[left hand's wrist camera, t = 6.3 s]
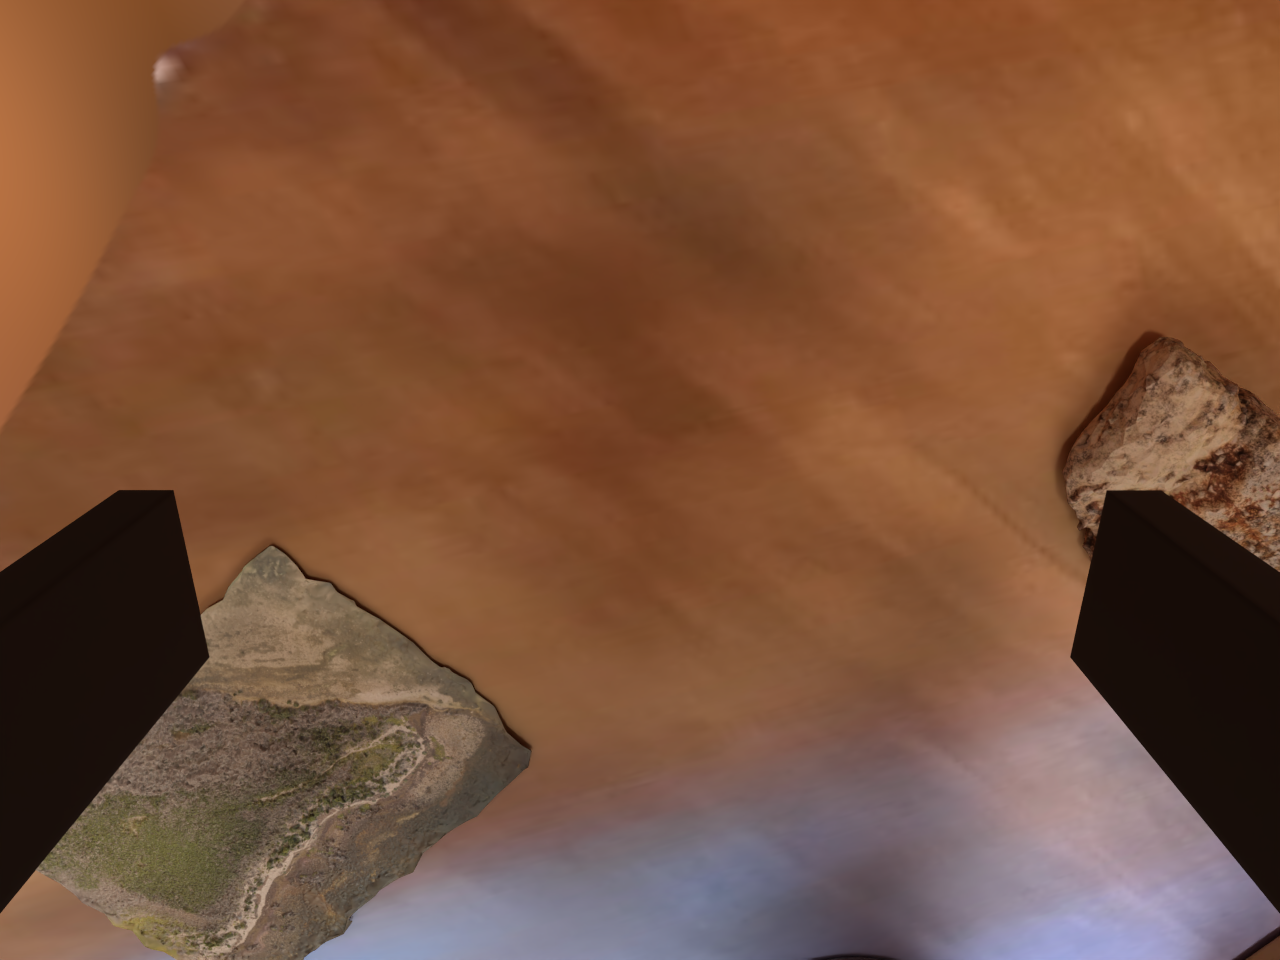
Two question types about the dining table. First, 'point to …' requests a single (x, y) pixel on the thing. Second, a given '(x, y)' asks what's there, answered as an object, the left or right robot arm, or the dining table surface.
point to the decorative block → (1268, 951)
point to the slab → (284, 778)
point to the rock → (1183, 449)
